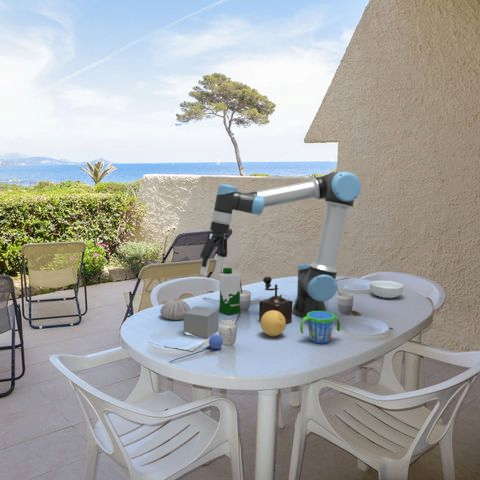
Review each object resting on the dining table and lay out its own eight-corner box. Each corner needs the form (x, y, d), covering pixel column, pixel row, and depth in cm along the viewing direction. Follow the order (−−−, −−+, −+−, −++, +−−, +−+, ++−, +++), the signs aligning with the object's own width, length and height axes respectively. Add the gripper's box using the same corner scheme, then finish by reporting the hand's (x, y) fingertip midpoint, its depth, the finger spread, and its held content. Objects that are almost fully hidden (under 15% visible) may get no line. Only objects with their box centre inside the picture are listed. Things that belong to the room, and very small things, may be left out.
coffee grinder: (293, 322, 190) (295, 281, 188) (277, 327, 183) (278, 285, 180) (266, 314, 201) (267, 275, 199) (249, 319, 193) (250, 278, 191)
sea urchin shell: (173, 311, 204) (173, 294, 203) (197, 316, 197) (197, 298, 196) (154, 318, 193) (153, 300, 192) (178, 324, 186) (178, 305, 185)
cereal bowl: (362, 294, 239) (363, 281, 238) (386, 291, 246) (387, 279, 245) (385, 302, 224) (385, 288, 223) (409, 299, 231) (410, 286, 230)
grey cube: (218, 330, 178) (218, 309, 177) (207, 338, 169) (207, 316, 167) (195, 327, 182) (195, 306, 180) (183, 335, 172) (183, 313, 171)
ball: (224, 347, 160) (225, 333, 160) (219, 352, 156) (219, 338, 155) (212, 345, 162) (212, 332, 161) (206, 350, 157) (206, 336, 157)
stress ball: (258, 339, 171) (271, 329, 164) (253, 316, 176) (266, 305, 169) (280, 340, 176) (293, 329, 169) (274, 317, 181) (287, 306, 174)
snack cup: (303, 346, 163) (304, 319, 161) (296, 336, 173) (297, 310, 172) (344, 345, 164) (345, 318, 163) (335, 335, 175) (336, 310, 173)
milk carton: (231, 308, 209) (231, 266, 207) (243, 312, 202) (244, 269, 200) (216, 311, 204) (216, 268, 201) (228, 316, 197) (229, 272, 194)
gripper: (225, 220, 193) (215, 268, 195) (198, 219, 170) (188, 273, 172) (241, 224, 190) (231, 272, 192) (215, 224, 167) (204, 278, 169)
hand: (210, 273), depth 182 cm, fingers open, 13 cm apart
